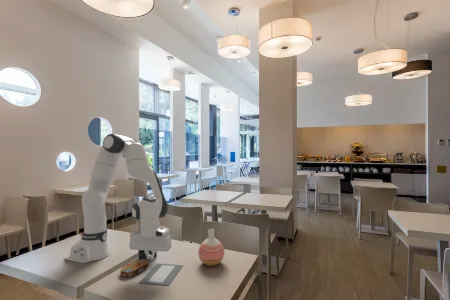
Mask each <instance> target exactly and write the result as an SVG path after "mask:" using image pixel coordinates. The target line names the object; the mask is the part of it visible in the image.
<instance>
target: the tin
mask: <svg viewBox="0 0 450 300" xmlns="http://www.w3.org/2000/svg"><path fill="white" fill-rule="evenodd" d="M149 262H150V260H147V259H139V258H138V259H134V260H133V261H131V262H129V263H127V264H125V265H123V266H122V267H121V268H120V276H121V277H124V278H131V277H134V276H137V275H138V274H140V273H141V272H143V271H144V270H146V269H147V268H148V267H149Z"/></svg>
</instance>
